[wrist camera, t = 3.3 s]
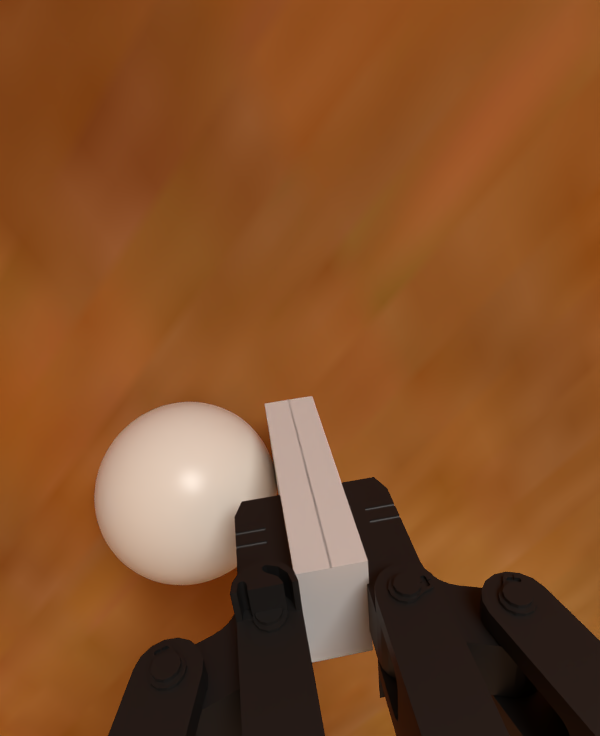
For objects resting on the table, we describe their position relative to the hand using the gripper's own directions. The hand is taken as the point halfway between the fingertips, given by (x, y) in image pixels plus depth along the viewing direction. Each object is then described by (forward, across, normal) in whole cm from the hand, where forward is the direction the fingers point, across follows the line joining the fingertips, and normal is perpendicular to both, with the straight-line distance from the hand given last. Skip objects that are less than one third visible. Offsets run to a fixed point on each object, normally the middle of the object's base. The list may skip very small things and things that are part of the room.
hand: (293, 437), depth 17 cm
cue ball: (0, +4, +1) cm, 4 cm away
